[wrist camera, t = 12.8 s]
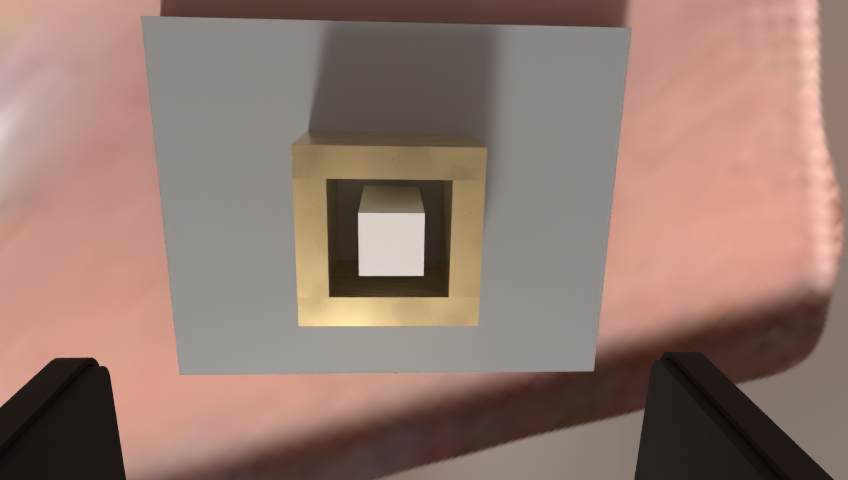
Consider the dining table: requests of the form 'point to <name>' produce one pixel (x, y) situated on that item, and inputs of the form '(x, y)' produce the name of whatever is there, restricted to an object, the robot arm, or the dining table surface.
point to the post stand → (384, 184)
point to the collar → (339, 279)
